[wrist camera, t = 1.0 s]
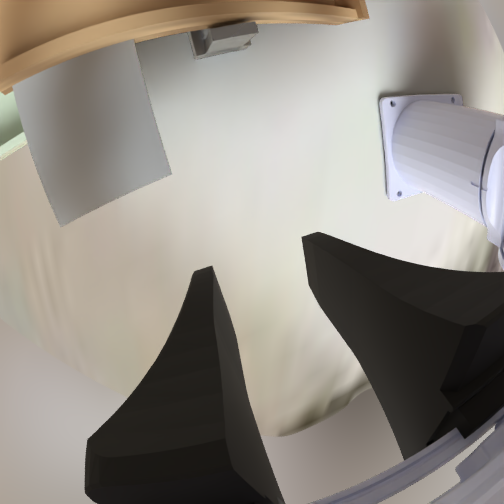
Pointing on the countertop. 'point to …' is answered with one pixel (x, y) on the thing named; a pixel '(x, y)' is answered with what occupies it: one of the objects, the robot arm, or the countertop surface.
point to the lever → (110, 83)
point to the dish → (10, 126)
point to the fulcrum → (222, 39)
